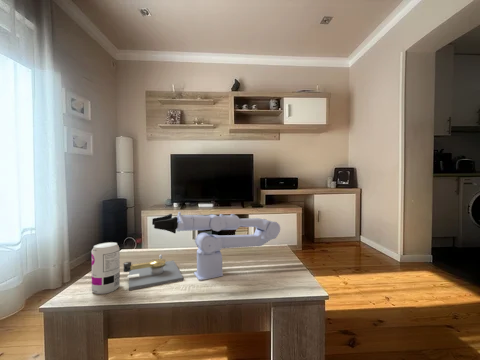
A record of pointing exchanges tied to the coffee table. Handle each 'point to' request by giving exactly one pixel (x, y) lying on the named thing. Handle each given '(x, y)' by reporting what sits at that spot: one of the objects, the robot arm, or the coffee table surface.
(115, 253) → the supplement can
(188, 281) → the coffee table surface
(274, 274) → the coffee table surface
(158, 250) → the coffee table surface
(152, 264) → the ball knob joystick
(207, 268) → the robot arm
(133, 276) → the plate
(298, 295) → the coffee table surface
